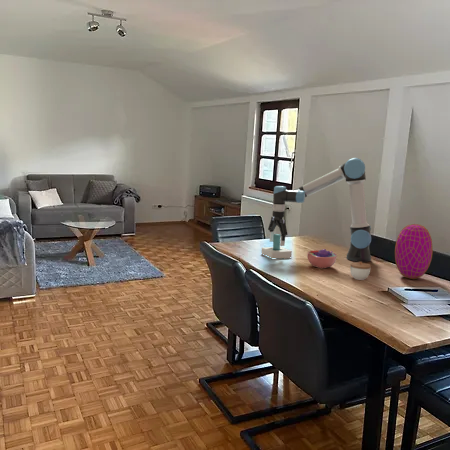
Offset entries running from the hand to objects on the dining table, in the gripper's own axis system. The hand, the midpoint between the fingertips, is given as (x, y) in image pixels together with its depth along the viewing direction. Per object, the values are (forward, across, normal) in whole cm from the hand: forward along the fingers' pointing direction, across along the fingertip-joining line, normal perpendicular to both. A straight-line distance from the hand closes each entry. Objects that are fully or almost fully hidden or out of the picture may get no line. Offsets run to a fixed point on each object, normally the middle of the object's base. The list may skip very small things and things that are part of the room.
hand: (276, 243), depth 301 cm
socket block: (+8, 0, 0) cm, 8 cm away
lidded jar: (+8, +59, +18) cm, 62 cm away
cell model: (+8, +32, +12) cm, 35 cm away
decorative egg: (+8, +67, +47) cm, 82 cm away
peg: (+8, 0, 0) cm, 8 cm away
